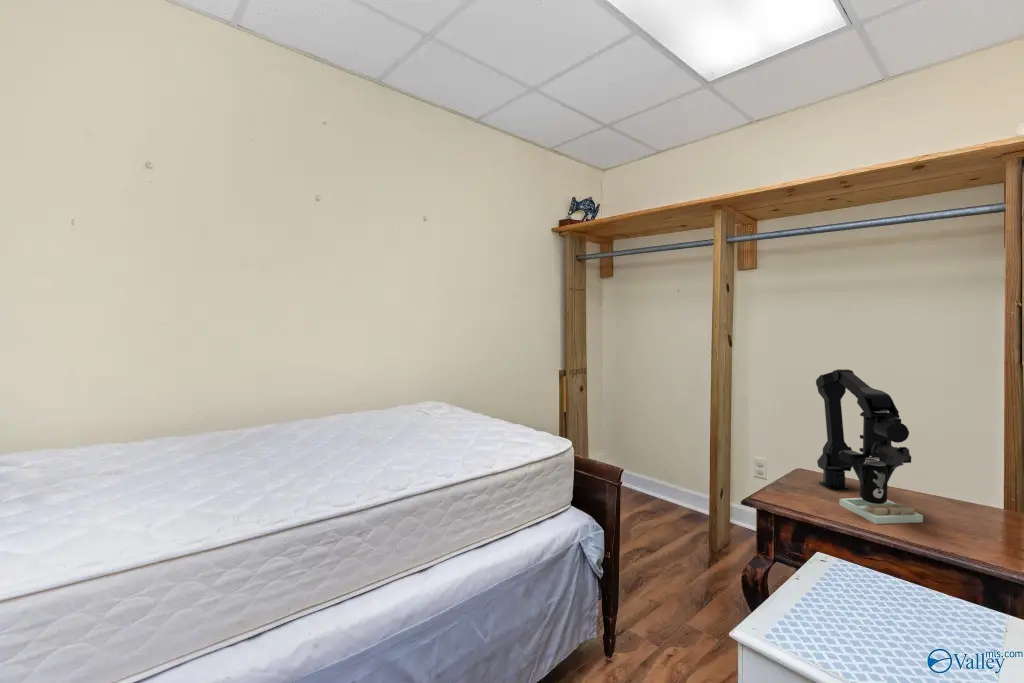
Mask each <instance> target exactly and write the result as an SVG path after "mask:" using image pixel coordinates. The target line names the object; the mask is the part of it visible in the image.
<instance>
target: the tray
mask: <svg viewBox="0 0 1024 683" xmlns="http://www.w3.org/2000/svg"><path fill="white" fill-rule="evenodd" d="M883 504H891V505H893V504H897V503H896V502H894V501H891V500H889V499H887V501H886V502H885V503H883ZM883 504H875V503H870V502H867V501H864V500H863V499H862V498H861V497H854V498H853V497H850V498H839V506H841V507H842V508H845V509H846V510H849V511H850V512H852V513H854V514H856V515H858V516H860V517H861V518H864V519H865V520H867V521H869V522H871V523H873V524H875V525H881V524H883V525H887V524H889V525H890V524H913V523H915V524H917V523H918V524H919V523H924V515H923V514H920V513H918V512H916V511H914V514H913V515H885V516H876V515H874V514H872V513H870V512H868V511H866V505H883Z"/></svg>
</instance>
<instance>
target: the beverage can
mask: <svg viewBox="0 0 1024 683" xmlns="http://www.w3.org/2000/svg"><path fill="white" fill-rule="evenodd" d="M866 464H867V465H870V466H869V467H868V468H867V469H866V482H865V485H862V484H861V483H860V482H859V484H860V485H859V496H860V497H859V498H862V499H863V500H864V501H867V502H870V503H875V504H883V503H885V502H886V501H887V500H888V483H889V481H888V468H887V467H886V464H885V463H884V462H882V461H879V459H876V460H866Z"/></svg>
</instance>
